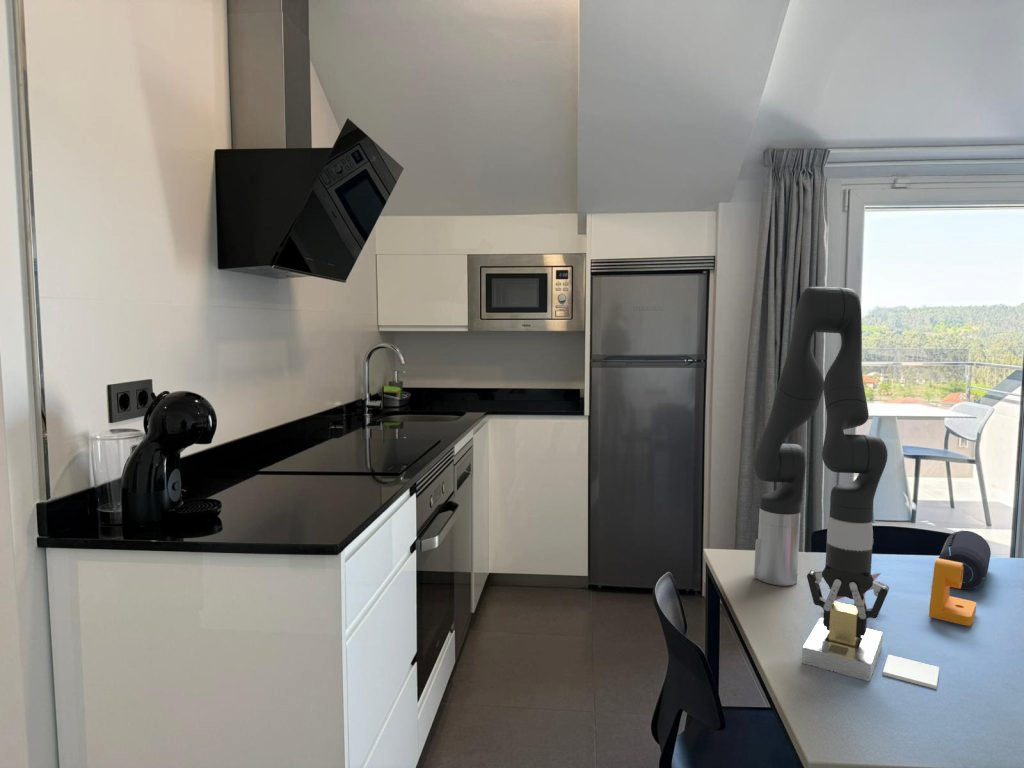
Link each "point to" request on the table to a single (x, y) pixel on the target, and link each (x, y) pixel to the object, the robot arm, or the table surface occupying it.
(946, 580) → the bracket
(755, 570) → the robot arm
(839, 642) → the brass peg
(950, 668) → the table surface
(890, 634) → the table surface
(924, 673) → the pad
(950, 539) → the portable speaker
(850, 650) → the socket block
